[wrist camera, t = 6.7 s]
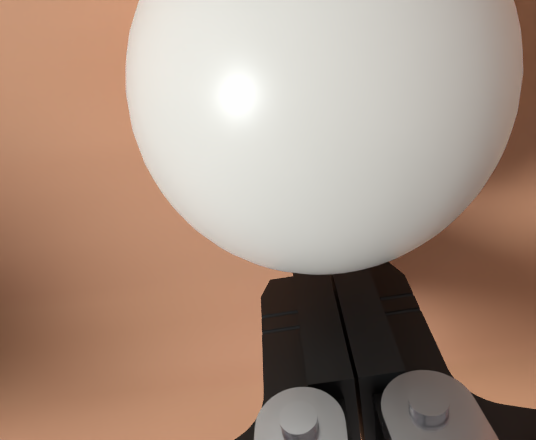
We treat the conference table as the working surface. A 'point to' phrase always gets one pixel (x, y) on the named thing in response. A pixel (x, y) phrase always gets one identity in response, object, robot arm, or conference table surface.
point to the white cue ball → (322, 120)
